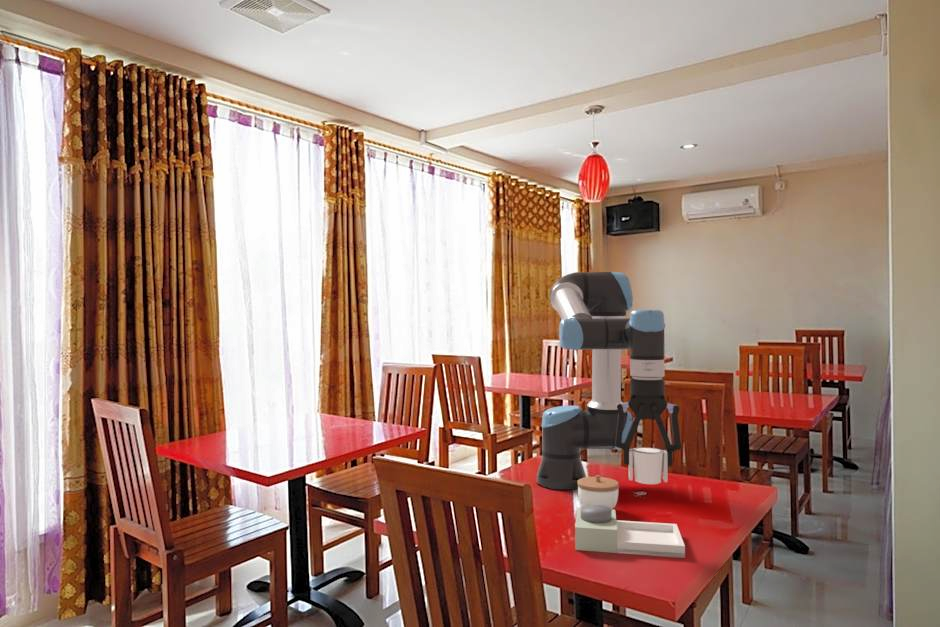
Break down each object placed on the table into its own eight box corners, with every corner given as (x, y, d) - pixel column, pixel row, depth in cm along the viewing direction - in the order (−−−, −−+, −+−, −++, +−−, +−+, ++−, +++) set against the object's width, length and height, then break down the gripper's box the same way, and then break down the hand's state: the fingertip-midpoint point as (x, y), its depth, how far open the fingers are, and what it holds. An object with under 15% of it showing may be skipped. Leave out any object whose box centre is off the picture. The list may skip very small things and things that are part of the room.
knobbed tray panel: (577, 528, 148) (577, 499, 148) (676, 534, 143) (676, 504, 143) (575, 549, 134) (575, 518, 134) (685, 557, 130) (684, 525, 130)
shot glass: (631, 483, 136) (631, 452, 136) (632, 475, 142) (632, 445, 142) (664, 486, 134) (663, 454, 134) (663, 478, 140) (663, 447, 140)
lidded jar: (588, 519, 154) (588, 482, 154) (570, 506, 164) (570, 472, 164) (626, 515, 157) (626, 479, 157) (606, 503, 167) (606, 469, 167)
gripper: (602, 378, 136) (603, 481, 136) (695, 380, 132) (696, 486, 132) (602, 375, 144) (602, 473, 144) (690, 376, 140) (691, 477, 140)
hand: (647, 479), depth 138 cm, fingers closed on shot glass, 7 cm apart
